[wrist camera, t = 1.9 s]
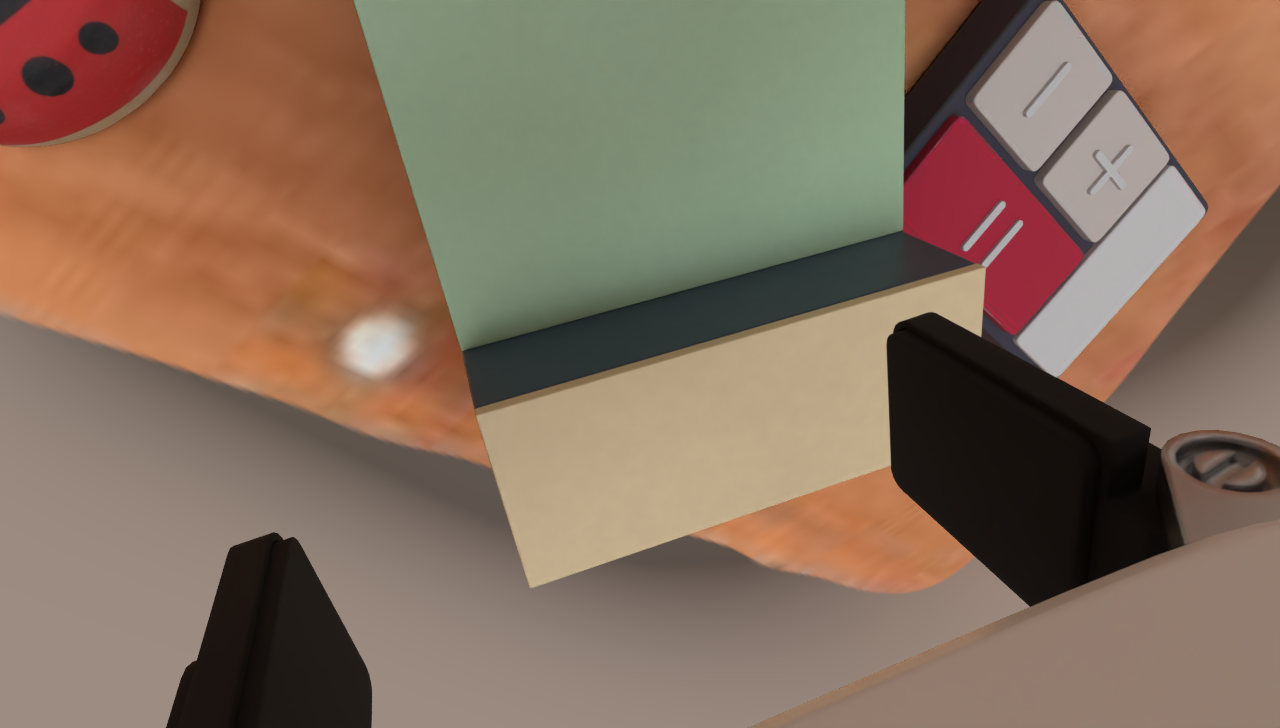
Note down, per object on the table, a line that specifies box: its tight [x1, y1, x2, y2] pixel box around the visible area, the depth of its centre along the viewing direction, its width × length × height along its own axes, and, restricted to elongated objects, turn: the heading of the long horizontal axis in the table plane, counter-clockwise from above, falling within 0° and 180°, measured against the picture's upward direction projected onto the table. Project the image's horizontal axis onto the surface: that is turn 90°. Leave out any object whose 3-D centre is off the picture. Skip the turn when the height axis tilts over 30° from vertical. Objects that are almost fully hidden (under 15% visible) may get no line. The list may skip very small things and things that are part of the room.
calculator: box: [902, 0, 1208, 378], centre depth 33 cm, size 11×4×15 cm
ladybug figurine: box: [0, 0, 201, 147], centre depth 21 cm, size 7×10×4 cm
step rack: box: [353, 0, 986, 588], centre depth 23 cm, size 23×15×12 cm, turn 10°
